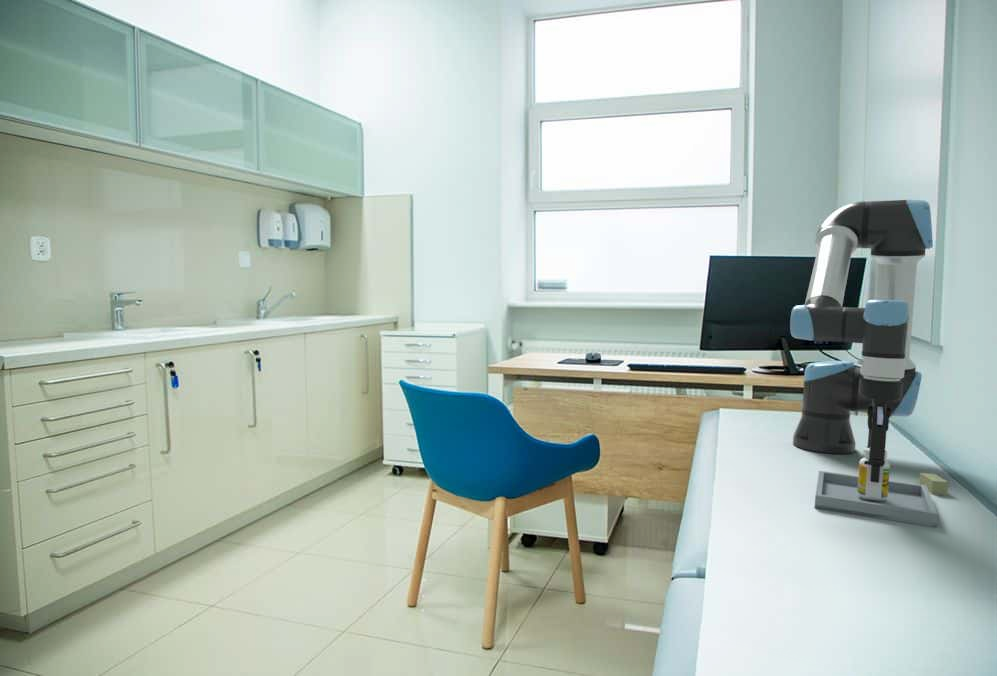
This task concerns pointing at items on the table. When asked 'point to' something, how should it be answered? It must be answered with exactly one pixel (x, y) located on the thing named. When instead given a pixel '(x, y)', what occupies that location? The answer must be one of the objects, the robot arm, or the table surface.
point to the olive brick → (934, 483)
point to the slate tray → (899, 506)
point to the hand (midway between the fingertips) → (872, 492)
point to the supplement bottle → (863, 477)
